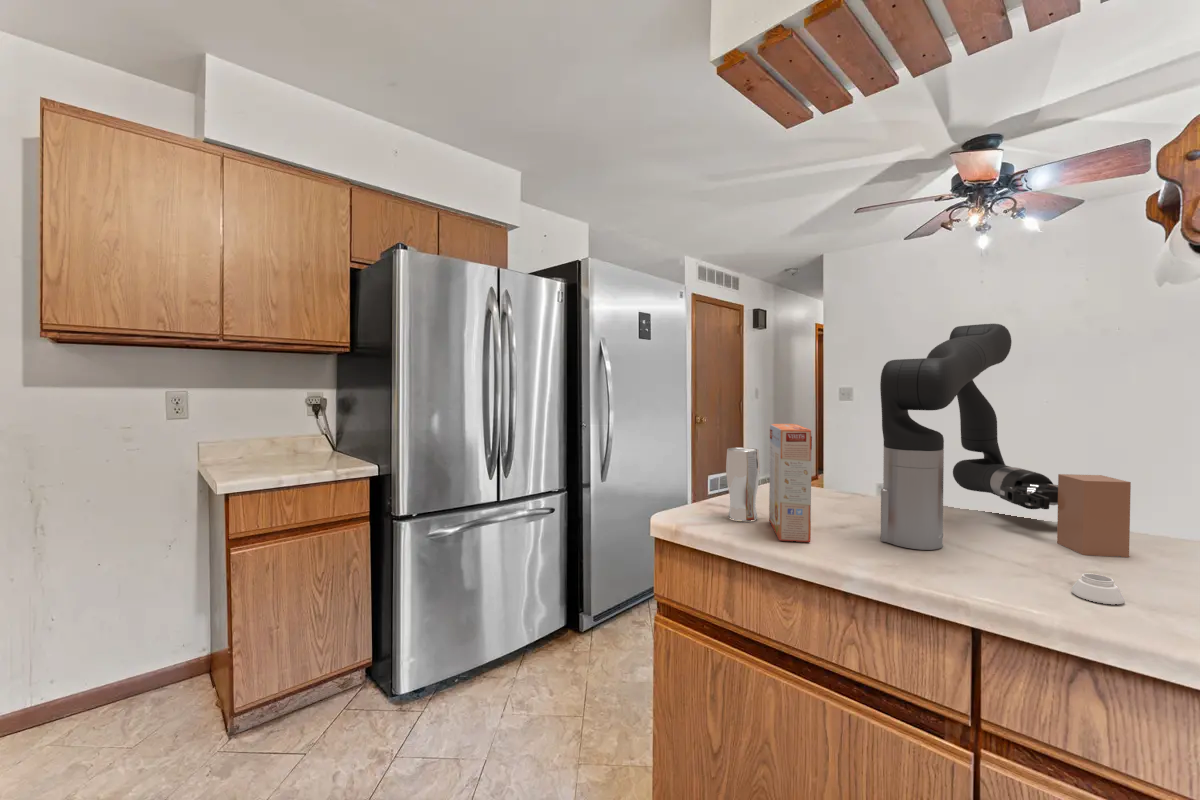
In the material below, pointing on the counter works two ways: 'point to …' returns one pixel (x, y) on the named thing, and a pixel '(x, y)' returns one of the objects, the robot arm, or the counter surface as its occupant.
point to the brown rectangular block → (1094, 514)
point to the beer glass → (742, 482)
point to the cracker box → (790, 482)
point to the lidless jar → (1098, 589)
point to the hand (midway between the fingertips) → (1075, 504)
